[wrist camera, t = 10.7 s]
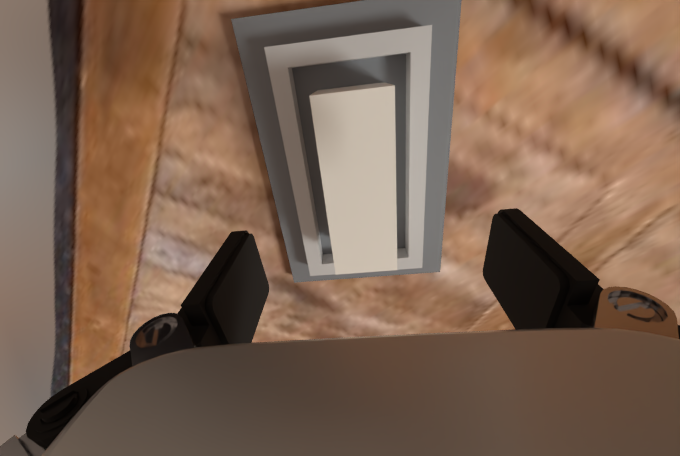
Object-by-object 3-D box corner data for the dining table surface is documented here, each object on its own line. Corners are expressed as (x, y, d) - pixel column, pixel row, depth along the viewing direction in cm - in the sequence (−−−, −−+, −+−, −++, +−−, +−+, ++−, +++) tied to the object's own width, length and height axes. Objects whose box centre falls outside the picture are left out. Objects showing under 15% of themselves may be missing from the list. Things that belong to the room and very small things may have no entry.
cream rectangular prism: (317, 90, 19) (309, 95, 15) (383, 82, 19) (394, 85, 15) (337, 239, 25) (335, 274, 21) (388, 235, 25) (397, 270, 20)
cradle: (236, 21, 18) (221, 14, 16) (456, -10, 17) (472, -21, 15) (295, 275, 28) (291, 292, 26) (437, 265, 27) (444, 282, 25)
